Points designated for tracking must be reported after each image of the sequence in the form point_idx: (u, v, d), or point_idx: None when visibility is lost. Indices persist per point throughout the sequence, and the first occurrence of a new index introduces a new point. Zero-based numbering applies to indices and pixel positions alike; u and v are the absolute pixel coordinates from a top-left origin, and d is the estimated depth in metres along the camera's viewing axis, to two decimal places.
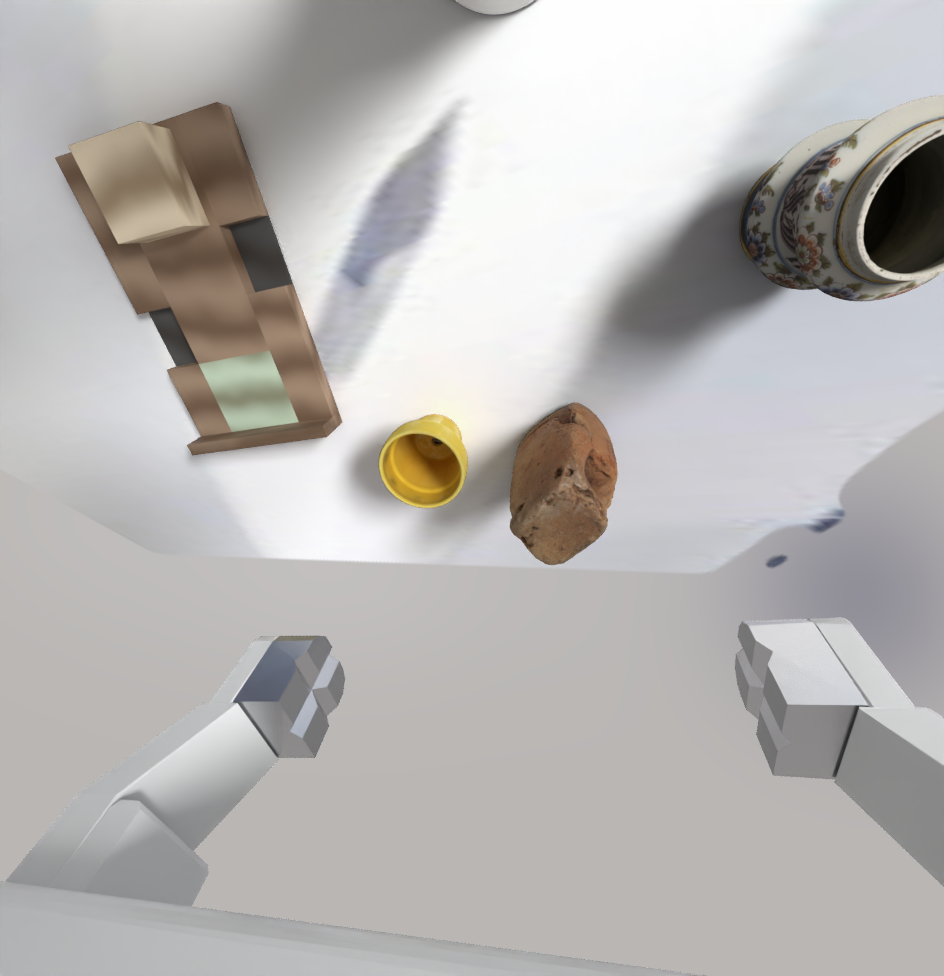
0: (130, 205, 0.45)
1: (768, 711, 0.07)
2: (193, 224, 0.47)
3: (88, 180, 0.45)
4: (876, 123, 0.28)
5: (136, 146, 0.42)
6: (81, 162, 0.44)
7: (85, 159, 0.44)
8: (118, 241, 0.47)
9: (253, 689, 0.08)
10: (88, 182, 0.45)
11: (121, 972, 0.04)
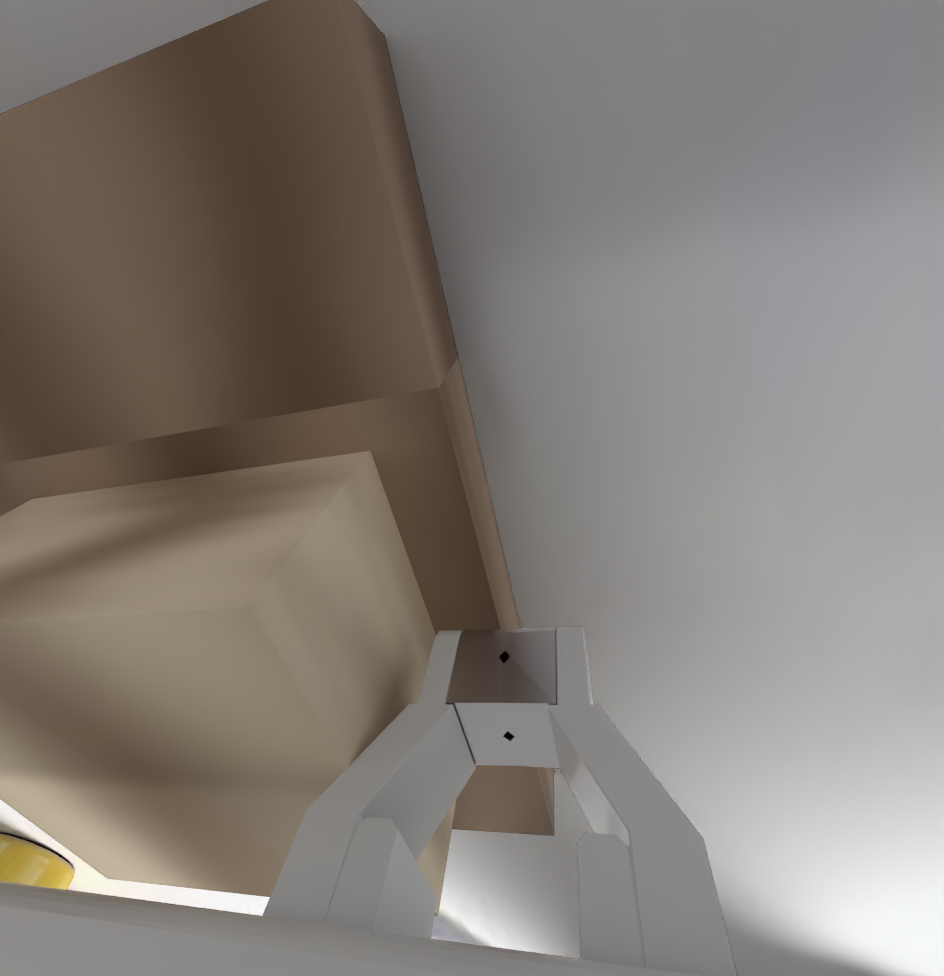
0: (64, 769, 0.08)
1: None
2: None
3: (66, 636, 0.06)
4: None
5: None
6: (171, 647, 0.06)
7: (200, 673, 0.06)
8: None
9: (464, 689, 0.07)
10: (53, 630, 0.06)
11: (121, 972, 0.04)
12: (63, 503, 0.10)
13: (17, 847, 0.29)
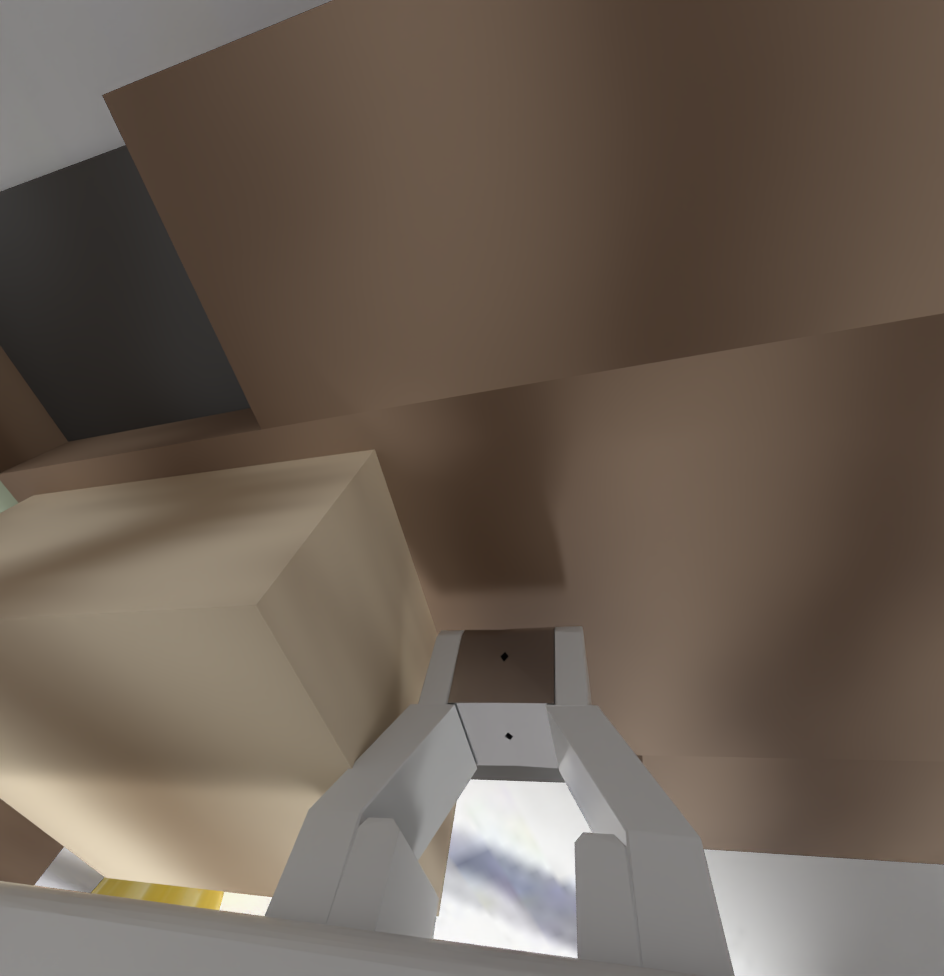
0: (64, 767, 0.08)
1: None
2: None
3: (71, 632, 0.06)
4: None
5: None
6: (176, 644, 0.06)
7: (205, 671, 0.06)
8: None
9: (465, 689, 0.07)
10: (57, 627, 0.06)
11: (121, 972, 0.04)
12: (64, 500, 0.09)
13: None
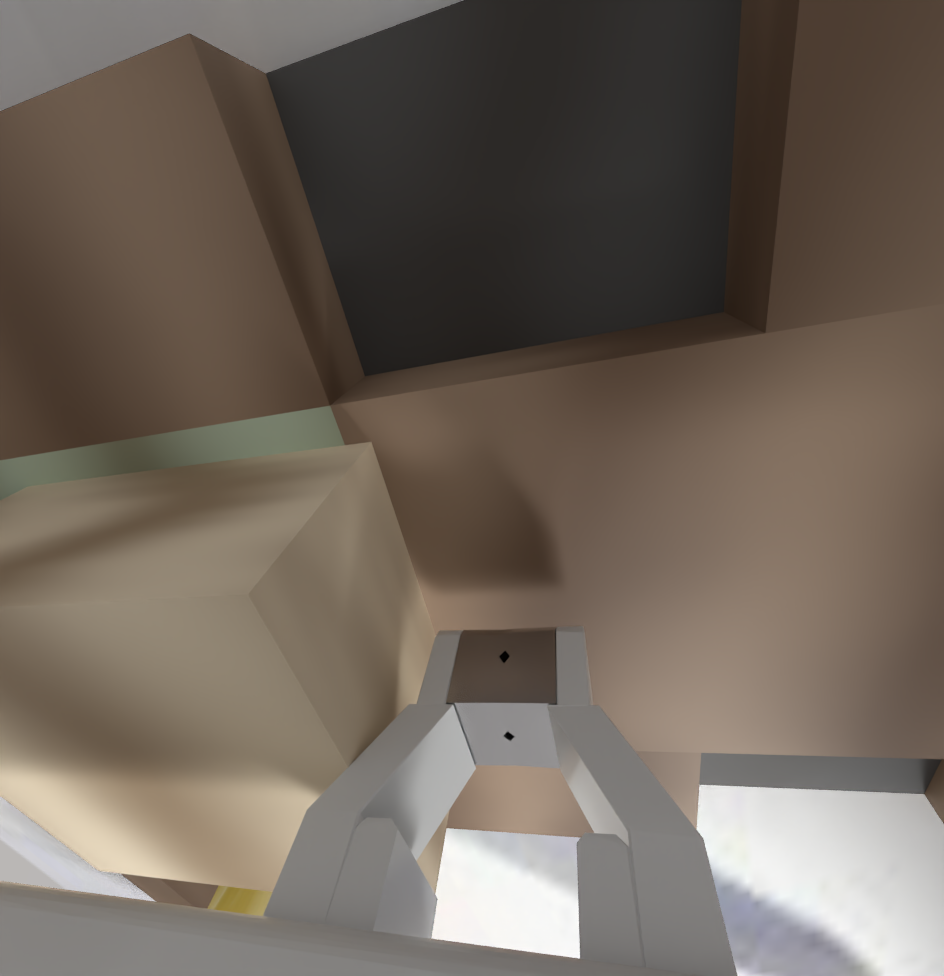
0: (57, 759, 0.08)
1: None
2: None
3: (61, 622, 0.06)
4: None
5: None
6: (168, 633, 0.05)
7: (196, 662, 0.06)
8: None
9: (464, 689, 0.07)
10: (47, 616, 0.06)
11: (121, 972, 0.04)
12: (59, 491, 0.09)
13: None
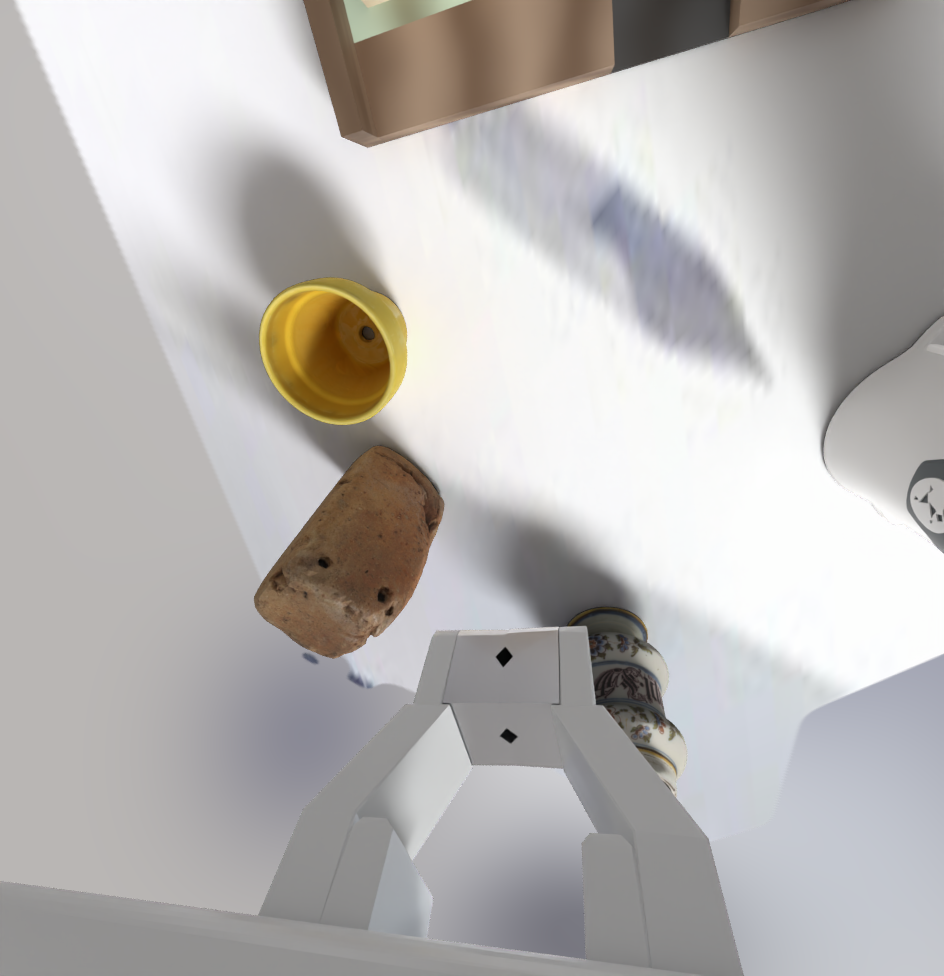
0: None
1: None
2: None
3: None
4: (680, 744, 0.40)
5: None
6: None
7: None
8: None
9: (461, 689, 0.07)
10: None
11: (121, 972, 0.04)
12: None
13: (382, 295, 0.38)
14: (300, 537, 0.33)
